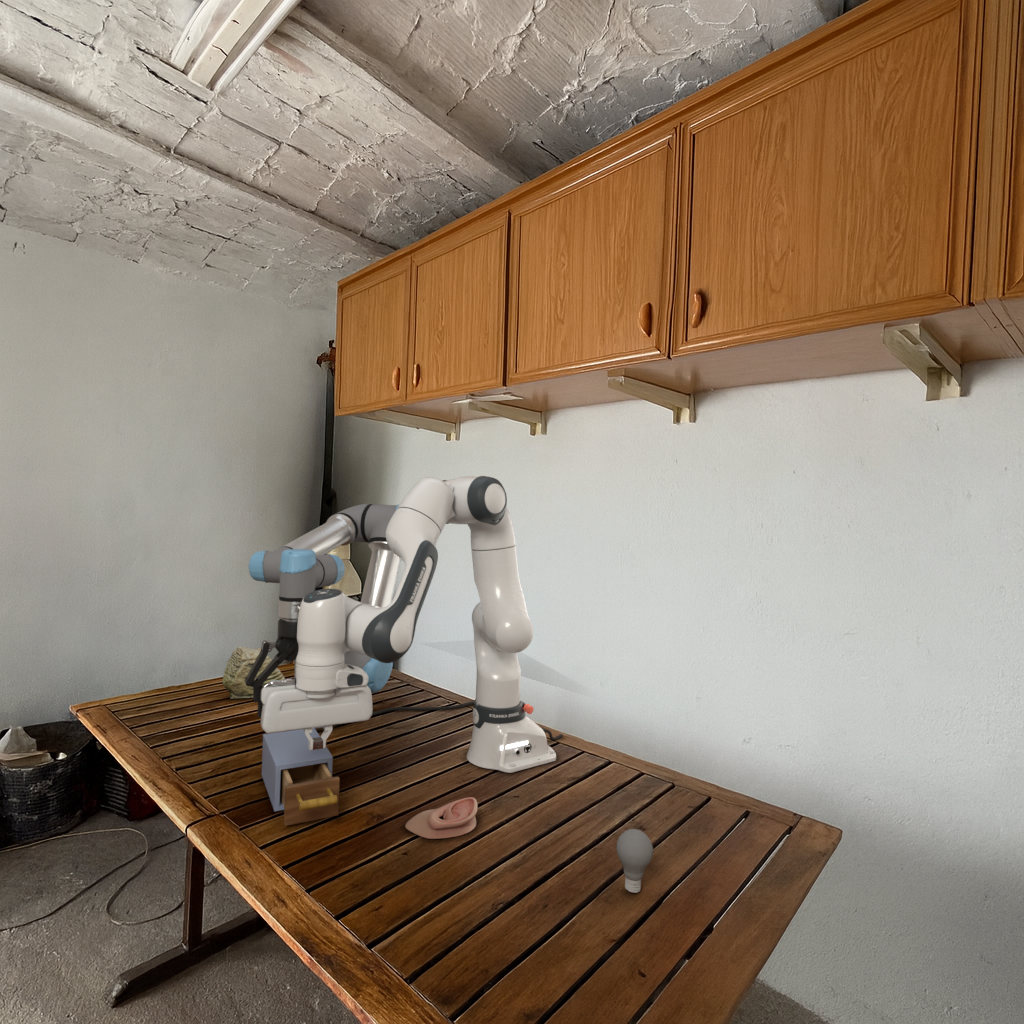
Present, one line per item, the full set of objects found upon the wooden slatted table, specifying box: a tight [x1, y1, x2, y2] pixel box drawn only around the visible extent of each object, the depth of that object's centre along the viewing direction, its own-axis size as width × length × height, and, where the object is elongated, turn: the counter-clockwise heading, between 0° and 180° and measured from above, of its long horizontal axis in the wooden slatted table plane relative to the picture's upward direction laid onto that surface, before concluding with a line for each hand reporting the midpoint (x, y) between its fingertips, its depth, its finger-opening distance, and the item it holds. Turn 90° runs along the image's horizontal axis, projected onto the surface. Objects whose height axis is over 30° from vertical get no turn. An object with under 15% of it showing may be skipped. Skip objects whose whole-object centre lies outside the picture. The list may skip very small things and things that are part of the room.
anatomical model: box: [404, 796, 479, 840], centre depth 124 cm, size 13×4×12 cm
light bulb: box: [615, 828, 654, 894], centre depth 106 cm, size 6×6×10 cm
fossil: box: [222, 646, 286, 699], centre depth 198 cm, size 9×18×15 cm, turn 132°
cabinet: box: [261, 728, 334, 812], centre depth 137 cm, size 18×11×9 cm, turn 29°
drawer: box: [280, 763, 341, 827], centre depth 127 cm, size 22×10×7 cm, turn 29°
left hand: (292, 712), depth 143 cm, fingers open, 13 cm apart
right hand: (316, 748), depth 120 cm, fingers closed
